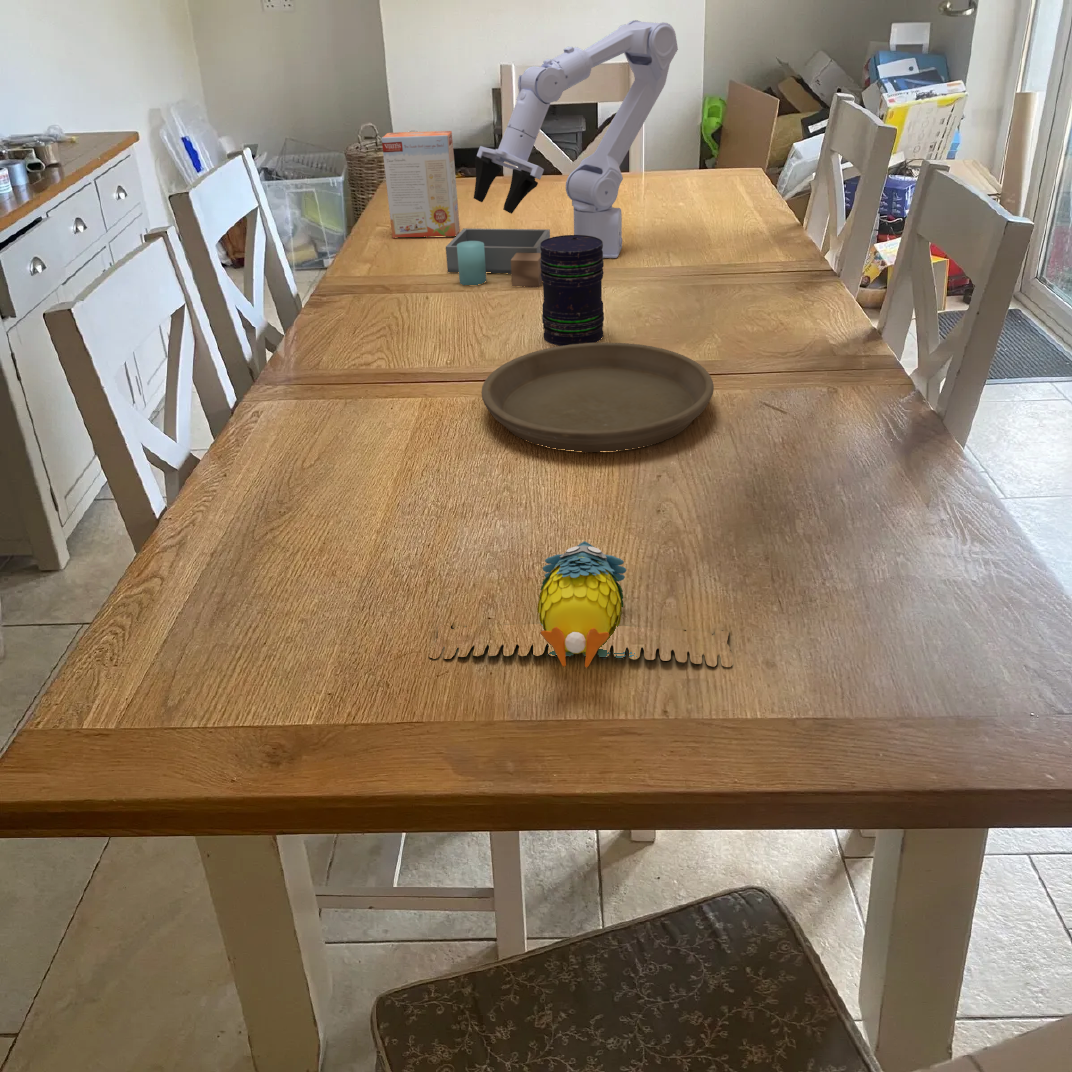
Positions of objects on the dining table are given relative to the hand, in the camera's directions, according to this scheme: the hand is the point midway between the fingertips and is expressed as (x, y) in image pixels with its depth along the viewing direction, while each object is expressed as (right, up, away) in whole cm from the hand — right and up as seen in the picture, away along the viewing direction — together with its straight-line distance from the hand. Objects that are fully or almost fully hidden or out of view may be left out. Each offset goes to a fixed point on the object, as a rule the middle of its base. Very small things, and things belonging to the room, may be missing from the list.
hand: (492, 206), depth 194 cm
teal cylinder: (-4, -13, +3) cm, 14 cm away
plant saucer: (+16, -44, -50) cm, 68 cm away
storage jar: (+14, -29, -24) cm, 40 cm away
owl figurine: (+12, -71, -95) cm, 119 cm away
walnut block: (+7, -14, +1) cm, 15 cm away
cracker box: (-16, +4, +34) cm, 38 cm away
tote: (+1, -7, +13) cm, 15 cm away
